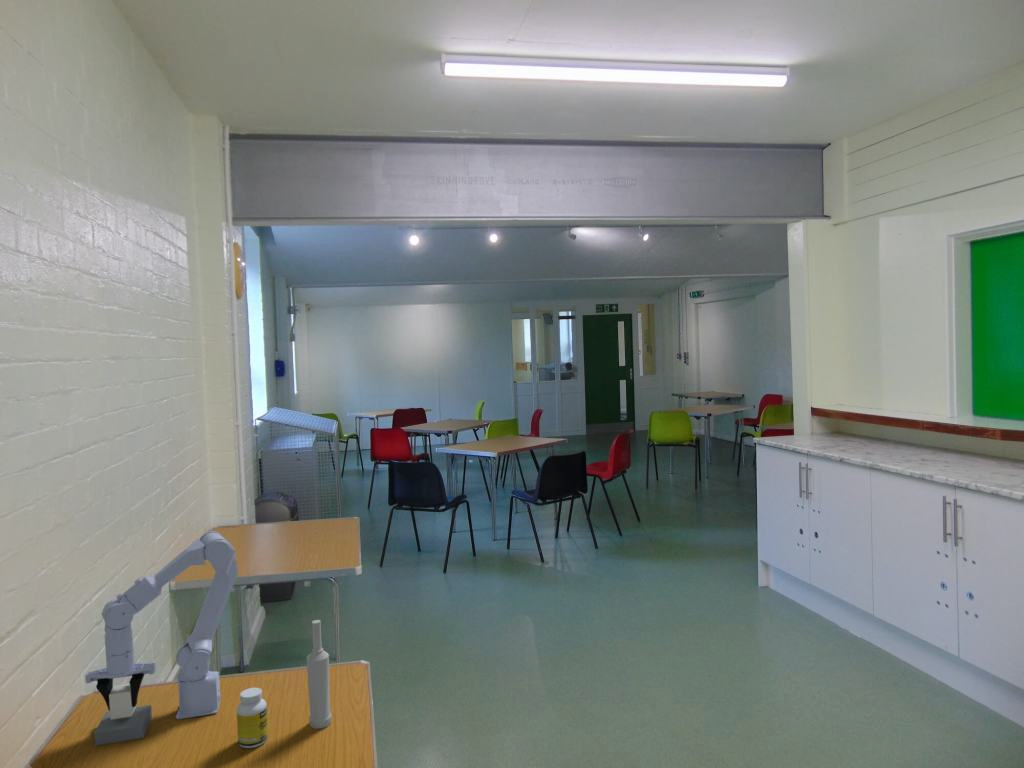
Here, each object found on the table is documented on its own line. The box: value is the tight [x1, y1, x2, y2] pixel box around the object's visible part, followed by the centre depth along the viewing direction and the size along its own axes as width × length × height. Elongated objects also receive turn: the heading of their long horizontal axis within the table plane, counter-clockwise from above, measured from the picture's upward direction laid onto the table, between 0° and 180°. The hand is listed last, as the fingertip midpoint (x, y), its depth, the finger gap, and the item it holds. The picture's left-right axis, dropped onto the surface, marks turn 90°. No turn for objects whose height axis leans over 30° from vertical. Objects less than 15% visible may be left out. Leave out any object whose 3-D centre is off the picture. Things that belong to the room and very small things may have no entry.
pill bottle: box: [236, 687, 269, 749], centre depth 163 cm, size 6×6×12 cm
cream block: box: [109, 683, 137, 720], centre depth 170 cm, size 4×4×6 cm
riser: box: [93, 704, 153, 747], centre depth 170 cm, size 10×10×3 cm
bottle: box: [306, 619, 332, 730], centre depth 170 cm, size 5×5×25 cm
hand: (123, 706), depth 170 cm, fingers closed on cream block, 4 cm apart
